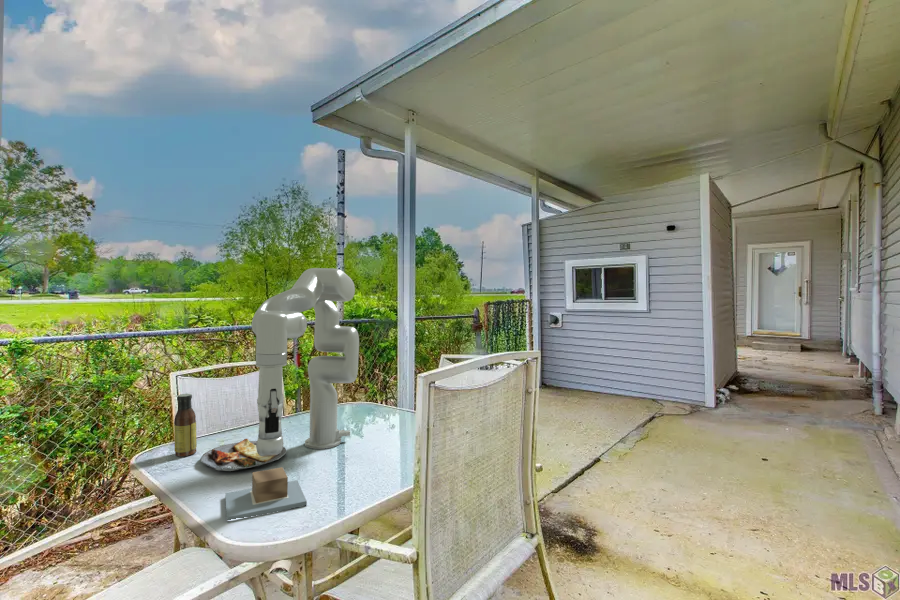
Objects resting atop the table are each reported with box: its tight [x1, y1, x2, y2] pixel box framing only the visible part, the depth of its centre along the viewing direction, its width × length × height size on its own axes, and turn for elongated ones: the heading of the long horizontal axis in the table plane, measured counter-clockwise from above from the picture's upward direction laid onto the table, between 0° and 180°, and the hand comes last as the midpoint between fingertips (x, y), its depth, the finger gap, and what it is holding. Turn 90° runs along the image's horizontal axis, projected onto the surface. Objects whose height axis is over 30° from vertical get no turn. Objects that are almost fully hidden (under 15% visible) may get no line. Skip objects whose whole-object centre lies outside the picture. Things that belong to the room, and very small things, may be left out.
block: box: [251, 466, 289, 503], centre depth 112 cm, size 8×8×5 cm
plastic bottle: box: [256, 393, 285, 457], centre depth 112 cm, size 6×7×20 cm
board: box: [224, 479, 308, 521], centre depth 110 cm, size 18×14×1 cm
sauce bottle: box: [173, 393, 198, 458], centre depth 142 cm, size 7×6×20 cm
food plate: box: [200, 438, 287, 472], centre depth 139 cm, size 25×23×4 cm
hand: (270, 428), depth 112 cm, fingers closed on plastic bottle, 5 cm apart
